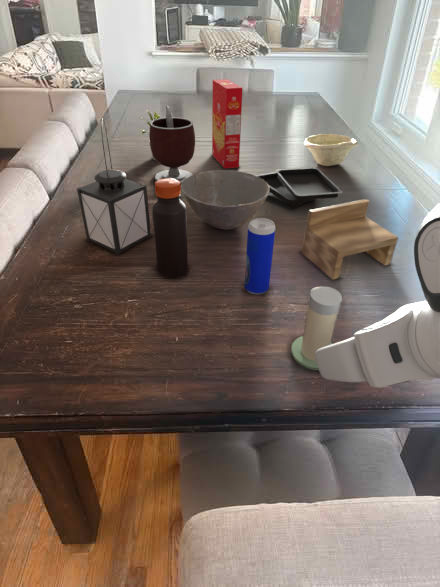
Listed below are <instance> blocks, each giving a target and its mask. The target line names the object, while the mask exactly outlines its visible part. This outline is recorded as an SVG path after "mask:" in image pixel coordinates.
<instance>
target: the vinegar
mask: <svg viewBox="0 0 440 587" xmlns="http://www.w3.org/2000/svg"><path fill="white" fill-rule="evenodd" d="M154 191H155V192H154V193H155V197H156V199H157V200H156V201H155V202H154V203H153V205H152V207H151V213H152V214H151V216H152V224H153V235H154V247H155V257H156V268H157V272H158V274H159V275H161V276H162V277H165V278H170V279H173V278H174V279H175V278H180V277H181V276H185V274H187V272H188V270H189V254H188V253H189V252H188V250H189V249H188V248H189V247H188V224H187V221H188V220H187V206H186V204H185V203H184V202H183V201H182V200H181V199H180V198H181V194H182V192H181V185H180V181H178V180H176V179H172V178H165V179H160V180H158V181H156V180H155V182H154Z"/></svg>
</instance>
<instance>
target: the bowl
mask: <svg viewBox="0 0 440 587" xmlns="http://www.w3.org/2000/svg"><path fill="white" fill-rule="evenodd" d="M358 144H359V143H358V141H357V139H354V138H352V137H349V136H347V135H345V134H342V135H340V134H335V133H319V134H314V135H310V136H308V137H307V138H305V140H304V141H303V145H304V146H305V147H306V148H307V150H309V151H310V153H311V154H312V157H313V158H314V160H315V162H316V163H317V164H318V165H320V166H322V167H332V166H337V165H339V164H341V163H343V162H344V161H345V159H346V157H347V156H348V154H349V153H350V152H351V151H352V150H353V149H354V148H355V147H357V146H358Z"/></svg>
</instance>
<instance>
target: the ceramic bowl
mask: <svg viewBox="0 0 440 587" xmlns="http://www.w3.org/2000/svg"><path fill="white" fill-rule="evenodd" d="M269 190H270V187H269V185H268V184H267V182H266V181H264V180H263V179H261V178H259V177H257V176H255V174H252V173H249V172H244V171H239V170H227V169H225V170H223V169H220V170H217V169H216V170H207V171H203V172H199V173H195V174H193V175H192V176H190V177H187V178H186V179H185V180H183V181H182V184H181V194H182V195H183V196H184V198H185V200H186V202H187V203H188V206H189V207H190V208H191V210H192V211H193V212H194V214H195V215H196V216H197V218H198V219H199V220H201V221H203V222H204V223H206V224H208V225H209V226H211V227H213V228H216V229H222V230H232V229H236V228H239V227H241V226H243V225H245V224H246V223H247V222H249V220H250V221H251V220H252V219H253V216H255V214H256V213H258V211H259V210H260V209H261V207H262V205H264V203H265V201H266V198H267V196H268V194H269Z"/></svg>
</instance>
